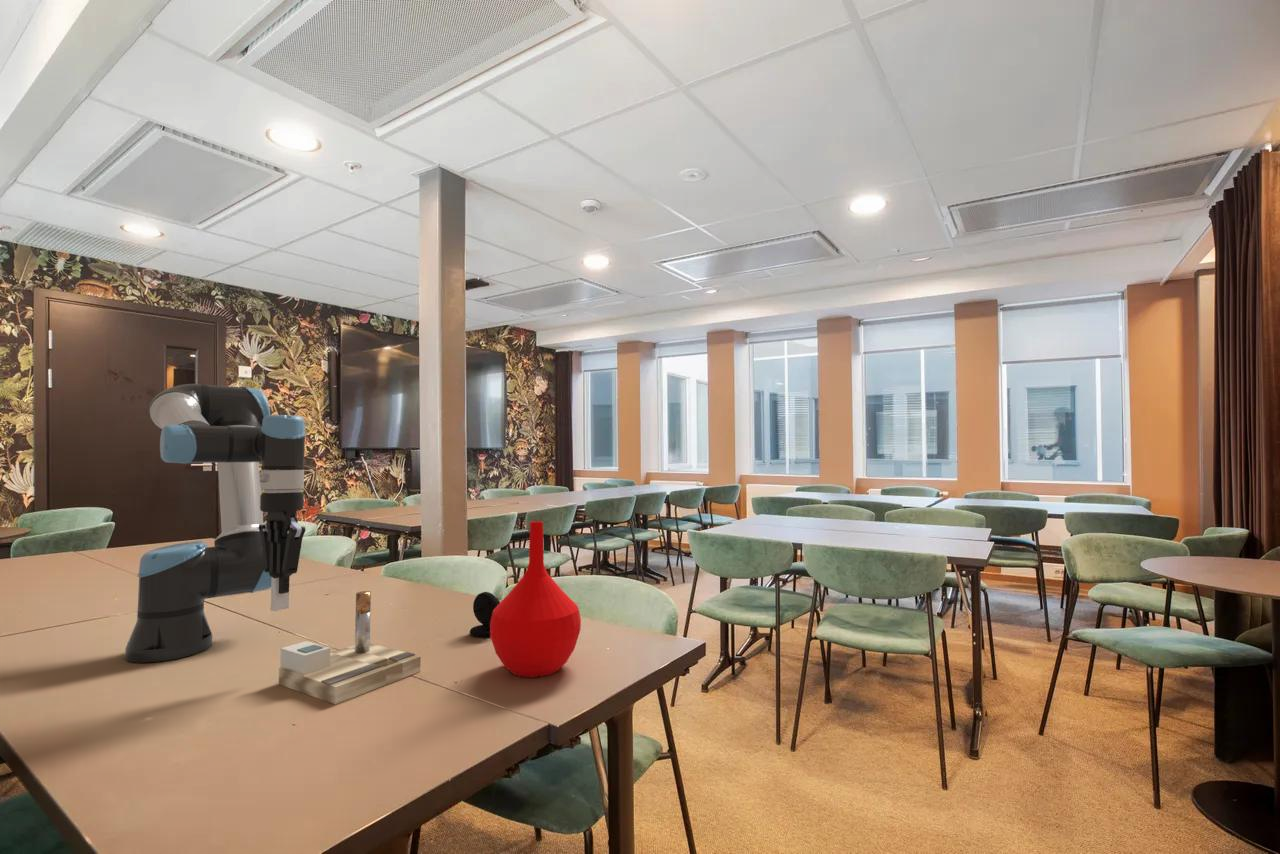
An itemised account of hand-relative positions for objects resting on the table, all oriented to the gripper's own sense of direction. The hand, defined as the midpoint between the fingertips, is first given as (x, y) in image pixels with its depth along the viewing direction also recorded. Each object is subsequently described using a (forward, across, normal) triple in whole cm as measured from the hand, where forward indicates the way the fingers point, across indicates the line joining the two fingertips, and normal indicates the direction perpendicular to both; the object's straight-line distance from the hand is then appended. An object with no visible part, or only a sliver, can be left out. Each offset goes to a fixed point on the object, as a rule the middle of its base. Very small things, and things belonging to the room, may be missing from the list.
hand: (279, 609), depth 118 cm
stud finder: (+10, +9, 0) cm, 13 cm away
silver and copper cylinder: (+10, +10, +11) cm, 18 cm away
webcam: (+13, +16, +40) cm, 45 cm away
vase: (+13, +42, +28) cm, 53 cm away
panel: (+13, +14, +6) cm, 20 cm away
